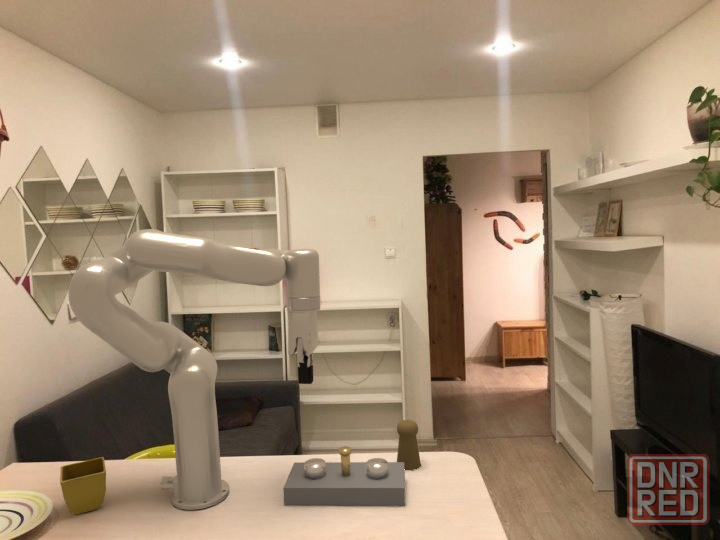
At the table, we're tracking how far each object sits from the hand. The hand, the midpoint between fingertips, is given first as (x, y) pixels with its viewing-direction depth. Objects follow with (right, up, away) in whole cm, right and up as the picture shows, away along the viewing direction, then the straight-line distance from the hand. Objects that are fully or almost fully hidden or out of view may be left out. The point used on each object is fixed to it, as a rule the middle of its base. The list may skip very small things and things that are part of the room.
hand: (305, 382), depth 125 cm
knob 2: (+16, -23, -3) cm, 29 cm away
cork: (+24, -22, +9) cm, 34 cm away
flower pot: (-48, -27, -5) cm, 55 cm away
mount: (+9, -24, -2) cm, 26 cm away
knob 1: (+3, -24, -2) cm, 24 cm away
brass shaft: (+9, -20, -3) cm, 22 cm away
